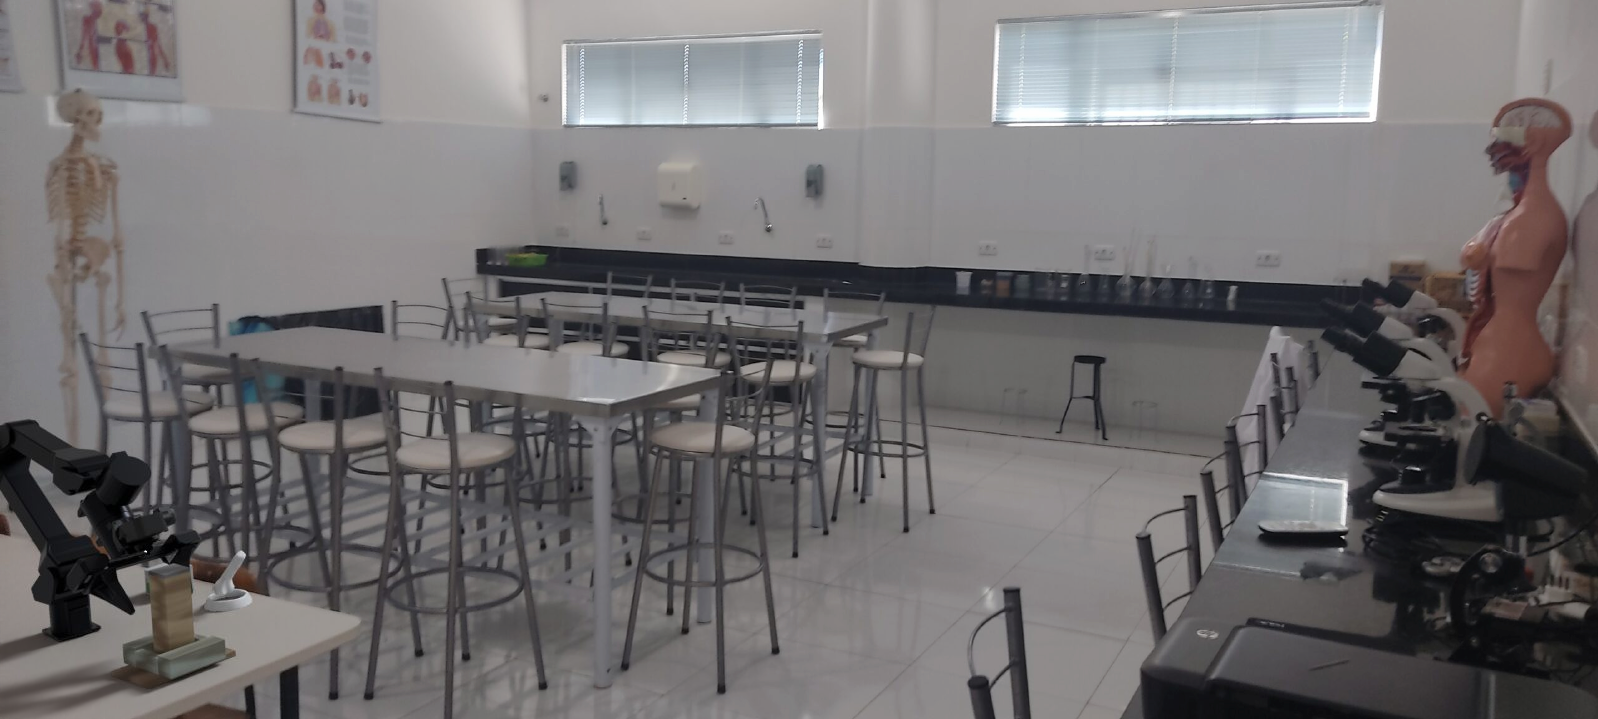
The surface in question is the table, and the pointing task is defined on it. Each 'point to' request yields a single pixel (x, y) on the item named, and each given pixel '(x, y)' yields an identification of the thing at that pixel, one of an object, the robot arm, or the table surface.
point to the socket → (169, 660)
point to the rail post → (171, 607)
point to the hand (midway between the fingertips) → (162, 603)
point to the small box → (158, 567)
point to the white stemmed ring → (228, 589)
